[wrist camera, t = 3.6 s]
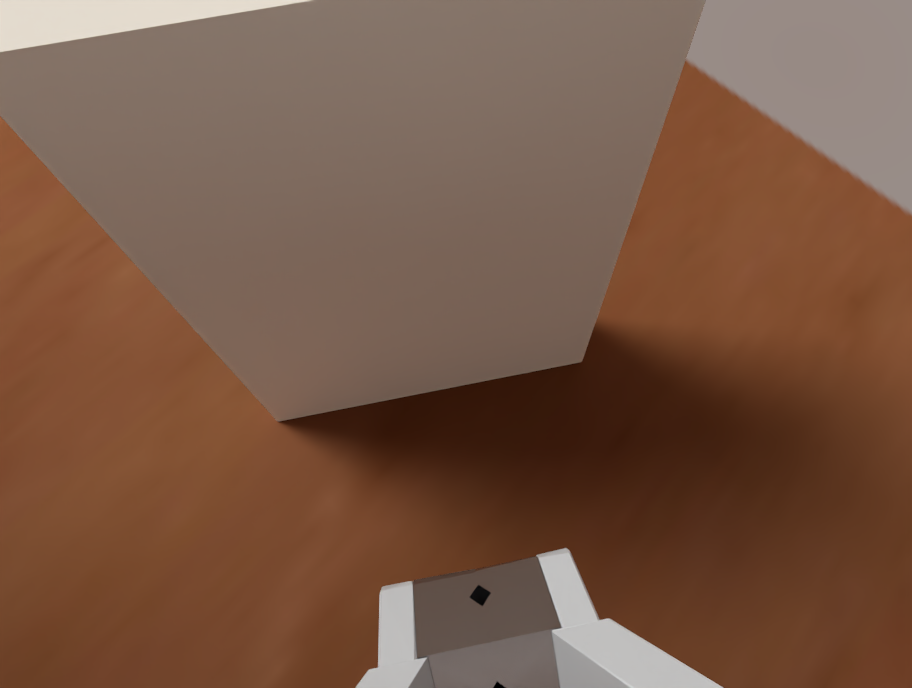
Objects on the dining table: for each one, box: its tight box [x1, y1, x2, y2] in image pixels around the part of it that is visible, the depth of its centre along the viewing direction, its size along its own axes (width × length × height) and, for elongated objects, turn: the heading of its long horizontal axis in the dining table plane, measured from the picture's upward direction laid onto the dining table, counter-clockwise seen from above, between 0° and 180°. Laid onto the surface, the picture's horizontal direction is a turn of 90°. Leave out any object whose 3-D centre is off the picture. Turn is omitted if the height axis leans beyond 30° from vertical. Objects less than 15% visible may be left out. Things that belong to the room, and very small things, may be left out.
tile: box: [0, 0, 706, 422], centre depth 15 cm, size 2×10×14 cm, turn 101°
